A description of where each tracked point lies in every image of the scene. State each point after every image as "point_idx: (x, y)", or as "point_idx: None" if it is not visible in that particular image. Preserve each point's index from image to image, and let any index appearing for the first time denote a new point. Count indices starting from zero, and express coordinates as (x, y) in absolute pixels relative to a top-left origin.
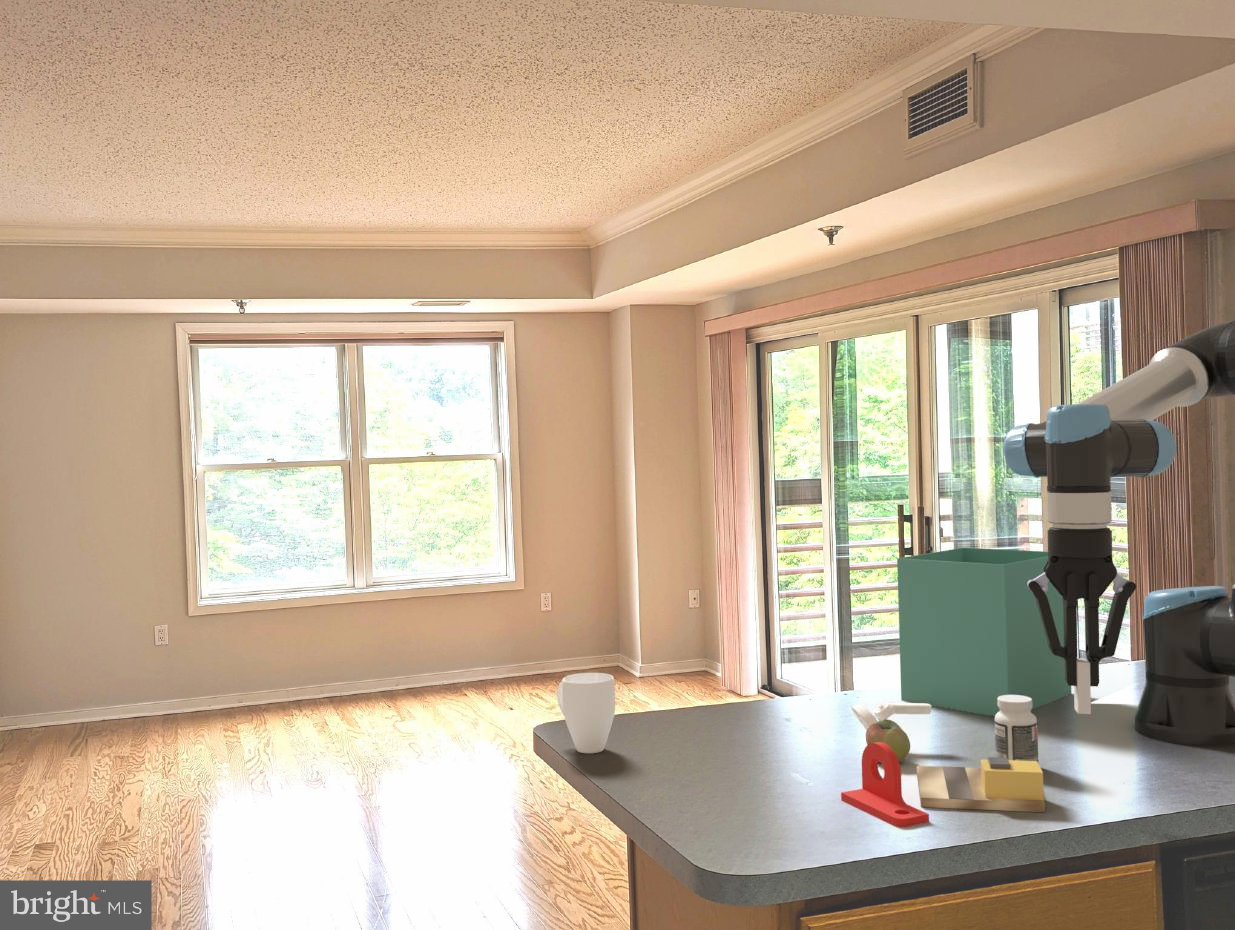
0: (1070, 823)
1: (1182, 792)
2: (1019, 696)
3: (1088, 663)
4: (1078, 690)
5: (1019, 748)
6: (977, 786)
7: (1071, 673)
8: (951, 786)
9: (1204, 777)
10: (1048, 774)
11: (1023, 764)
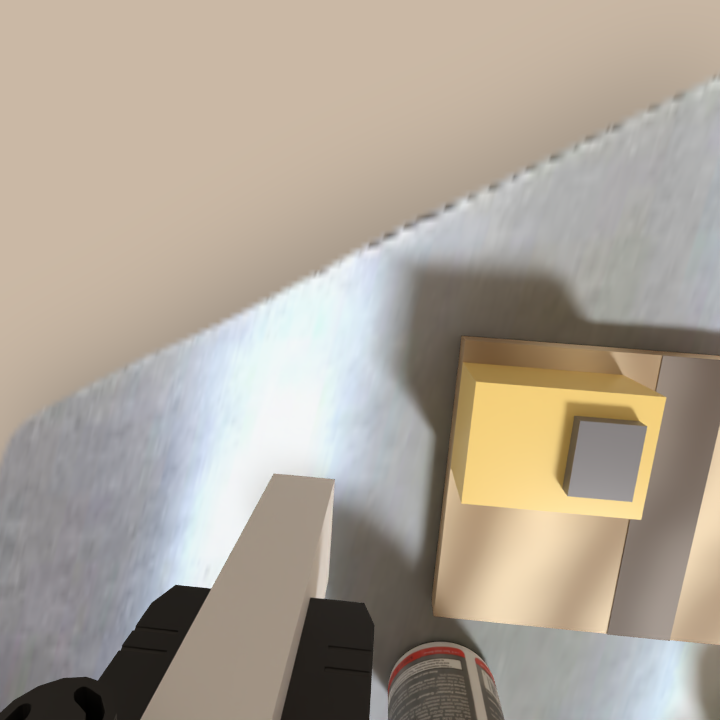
0: (417, 253)
1: (86, 505)
2: None
3: (160, 712)
4: (311, 550)
5: (453, 694)
6: None
7: (333, 676)
8: (695, 467)
9: (13, 613)
10: (374, 632)
11: (515, 466)
